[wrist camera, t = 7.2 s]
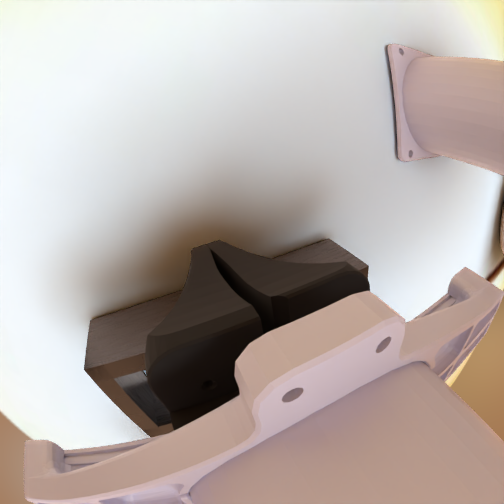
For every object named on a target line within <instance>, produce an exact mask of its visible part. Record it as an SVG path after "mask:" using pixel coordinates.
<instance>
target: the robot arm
mask: <svg viewBox="0 0 504 504" xmlns="http://www.w3.org/2000/svg"><path fill="white" fill-rule="evenodd" d="M388 55H389V61H390V67H391V74H392V81H393V89H394V99H395V109H396V123H397V143H398V158H399V159H400V160H401V161H404V162H407V161H413V160H419V159H425V158H431V157H437V156H446V157H449V158H453V159H456V160H459V161H463V162H466V163H469V164H472V165H475V166H478V167H481V168H484V169H487V170H490V171H492V172H495V173H498V174H500V175H503V176H504V61H498V60H489V59H480V58H466V57H434V56H432V55H429V54H426V53H423V52H420V51H417V50H414V49H411V48H408V47H405V46H401V45H398V44H389V45H388ZM503 295H504V292H503V291H502V290H500V289H499V288H497V287H496V286H494V285H493V284H491V283H490V282H488V281H487V280H485V279H484V278H482V277H481V276H479V275H478V274H476V273H475V272H473V271H471V270H470V269H468V268H467V267H464V268H463V269H462V270H461V271H459V272H458V273H457V274H456V275H454V277H453V278H452V280H451V282H450V284H449V288H448V293H447V294H446V295H444V296H443V297H442V298H441V299H439V300H438V301H437V302H436V303H434V304H433V305H432V306H430V307H429V308H428V309H426V310H425V311H424V312H422V313H421V314H420V315H418V316H417V317H416V318H414V319H413V320H411V321H409V322H406V323H405V319H404V318H403V317H402V316H400V315H399V314H398V313H397V312H396V311H394V310H393V309H392V308H391V307H389V306H388V305H387V304H386V303H385V302H383V301H382V300H381V299H380V298H378V297H377V296H376V295H374V294H373V293H371V292H370V285H369V282H368V279H367V277H366V276H365V275H364V274H363V273H362V272H360V271H359V270H358V269H356V268H355V267H353V266H352V265H351V264H349V263H348V262H346V261H343V262H332V263H294V262H285V261H278V260H273V259H269V258H265V257H261V256H258V255H255V254H251V253H249V252H246V251H243V250H241V249H238V248H236V247H234V246H232V245H229V244H227V243H225V242H223V241H221V240H218V241H215V242H212V243H209V244H205V245H202V246H199V247H196V248H193V249H192V250H191V264H190V270H189V274H188V277H187V280H186V283H185V286H184V289H183V291H182V293H181V295H180V297H179V299H178V301H177V302H176V304H175V306H174V307H173V308H172V310H171V311H170V312H169V314H168V315H167V316H166V317H165V318H164V319H163V321H162V322H161V323H160V324H159V325H157V326H156V327H155V328H154V329H153V330H152V331H151V332H150V333H149V334H148V335H147V339H146V348H145V368H146V375H147V382H148V385H149V387H150V389H151V391H152V392H153V393H154V394H155V396H156V397H157V398H158V399H159V401H160V402H161V403H162V404H163V405H164V407H165V408H166V409H167V410H168V411H169V413H170V417H171V421H172V425H173V429H174V431H173V432H171V433H168V434H164V435H160V436H155V437H151V438H146V439H142V440H137V441H132V442H126V443H121V444H115V445H108V446H101V447H93V448H84V449H74V450H63V449H62V448H61V447H59V446H58V445H57V444H55V443H53V442H51V441H48V440H27V441H25V451H24V496H25V498H26V500H28V501H30V502H32V503H35V504H504V442H503V441H502V439H500V437H499V436H498V435H497V434H496V433H495V432H494V431H493V430H492V429H491V428H490V427H489V426H488V425H487V424H486V423H485V422H484V421H483V420H482V419H481V418H480V417H479V416H478V415H477V414H476V413H475V412H474V411H473V410H472V409H471V408H470V407H469V406H468V405H467V404H466V403H465V402H464V401H463V400H462V399H461V398H460V397H459V396H458V395H457V394H456V393H455V392H454V391H453V390H452V389H451V388H450V387H449V386H448V385H447V384H446V383H445V381H446V380H447V379H448V378H449V377H450V376H451V375H452V374H453V373H454V371H455V370H456V369H457V368H458V367H459V366H460V364H461V363H462V362H463V361H464V360H465V359H466V357H467V356H468V355H469V354H470V353H471V351H472V350H473V349H474V348H475V346H476V345H477V344H478V343H479V342H480V340H481V339H482V338H483V337H484V335H485V334H486V332H487V330H488V328H489V326H490V324H491V322H492V320H493V318H494V316H495V313H496V311H497V309H498V307H499V305H500V302H501V300H502V298H503Z"/></svg>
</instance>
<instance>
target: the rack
mask: <svg viewBox="0 0 504 504" xmlns="http://www.w3.org/2000/svg"><path fill="white" fill-rule="evenodd" d="M273 260H278V261H285V262H294V263H332V262H343V261H346V262H348V263H349V264H351V265H352V266H353V267H355V268H356V269H358V270H359V271H360V272H362V273H363V274H364V275H365V276H366V277H367V279H368V268H369V266H368V265H367V264H365V263H364V262H363V261H361V260H360V259H358V258H357V257H355V256H354V255H352V254H351V253H349V252H348V251H347V250H345V249H344V248H342V247H341V246H339V245H338V244H336V243H335V242H333V241H332V240H330V239H326V240H324V241H321V242H318V243H315V244H313V245H310V246H307V247H304V248H301V249H299V250H296V251H293V252H290V253H287V254H285V255H282V256H279V257H276V258H273ZM182 291H183V290H181V291H178V292H175V293H172V294H169V295H166V296H163V297H160V298H157V299H154V300H151V301H148V302H145V303H142V304H139V305H136V306H133V307H130V308H127V309H124V310H121V311H118V312H115V313H112V314H109V315H105V316H102V317H99V318H96V319H93V320H90V326H89V332H88V339H87V347H86V356H85V365H84V370H85V371H86V372H87V374H88V375H89V376H90V377H91V378H92V379H93V381H94V382H95V383H96V384H97V385H98V386H99V387H100V388H101V390H102V391H103V392H104V393H105V394H106V395H107V396H108V397H109V398H110V399H111V400H112V401H113V402H114V403H115V404H116V405H117V406H118V407H119V408H120V409H121V410H122V411H123V412H124V413H125V414H126V415H127V416H128V417H129V418H130V419H131V420H132V421H133V422H134V423H135V424H137V425H138V426H139V427H140V428H141V429H142V430H143V431H144V432H145V433H147V434H148V435H149V436H150V437H155V436H160V435H164V434H168V433H171V432H173V431H174V429H173V425H172V421H171V417H170V413H169V411H168V410H167V409H166V408H165V407H164V405H163V404H162V403H161V402H160V401H159V399H158V398H157V397H156V396H155V394H154V393H153V392H152V391H151V389H150V387H149V385H148V382H147V377H146V376H145V375H144V373H143V372H142V371H143V370H146V368H145V348H146V339H147V335H148V334H149V333H150V332H151V331H152V330H153V329H154V328H155V327H156V326H157V325H159V324H160V323H161V322H162V321H163V319H164V318H165V317H166V316H167V315H168V314H169V312H170V311H171V310H172V308H173V307H174V306H175V304H176V302H177V301H178V299H179V297H180V295H181V293H182Z"/></svg>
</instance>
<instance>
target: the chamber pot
mask: <svg viewBox="0 0 504 504" xmlns="http://www.w3.org/2000/svg"><path fill="white" fill-rule="evenodd" d="M500 244H501V249H502V252H503V255H504V202H503V207H502V214H501V221H500Z"/></svg>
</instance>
